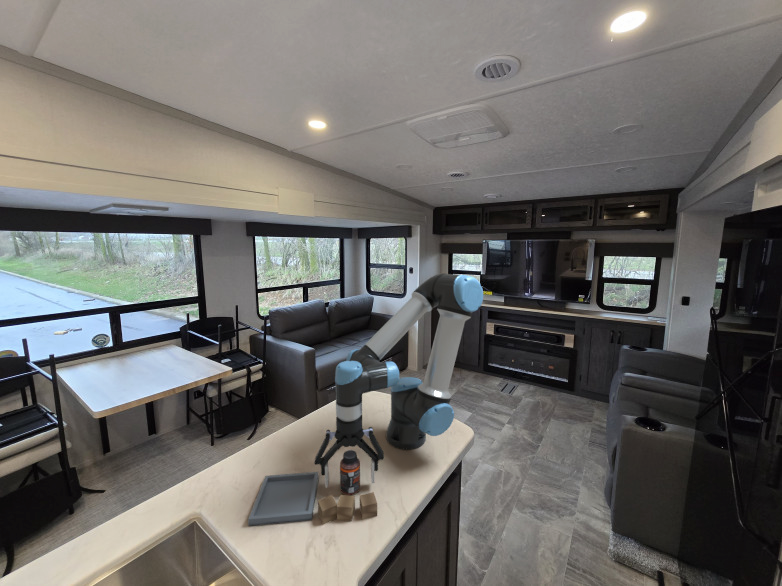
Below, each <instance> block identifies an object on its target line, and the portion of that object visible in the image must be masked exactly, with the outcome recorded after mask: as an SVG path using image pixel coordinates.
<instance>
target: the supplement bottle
mask: <svg viewBox="0 0 782 586" xmlns="http://www.w3.org/2000/svg"><path fill="white" fill-rule="evenodd" d="M339 487H340V492H341V493H342V495H349V496H355V495H356V494H357V493H359V491H360V489H361V461H360V459H359V458H358V455H357V451H355V450H352V449H349V450H345V451H344V453H343V455H342V459H341V460H340V463H339Z"/></svg>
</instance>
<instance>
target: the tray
mask: <svg viewBox="0 0 782 586" xmlns="http://www.w3.org/2000/svg"><path fill="white" fill-rule="evenodd" d="M319 479H320V477H319V471H312V472H311V471H310V472H297V473H296V472H295V473H284V474H283V473H282V474H271V475H265V476H264V478H263V481H262V484H261V486H260V489H259V491H258V494H257V496H256V498H255V501H254V503H253V507H252V508H251V511H250V514H249V517H248V519H247V523H248V527H255V526H256V527H257V526H258V527H259V526H267V525H277V524H288V523H297V522H309V521H312V520H313V515H314V510H315V509H314V508H315V502H316V501H315V500H316V496H317V490H318V484H319V483H318V482H319Z"/></svg>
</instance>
